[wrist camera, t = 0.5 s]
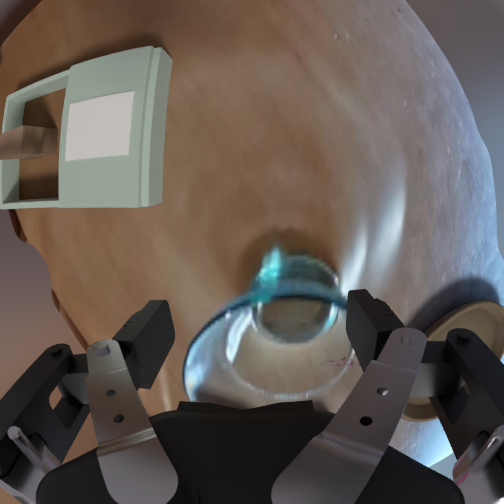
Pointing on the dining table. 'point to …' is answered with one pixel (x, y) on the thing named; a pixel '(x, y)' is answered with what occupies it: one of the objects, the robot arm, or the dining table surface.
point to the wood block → (28, 142)
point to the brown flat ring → (469, 317)
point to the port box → (101, 132)
